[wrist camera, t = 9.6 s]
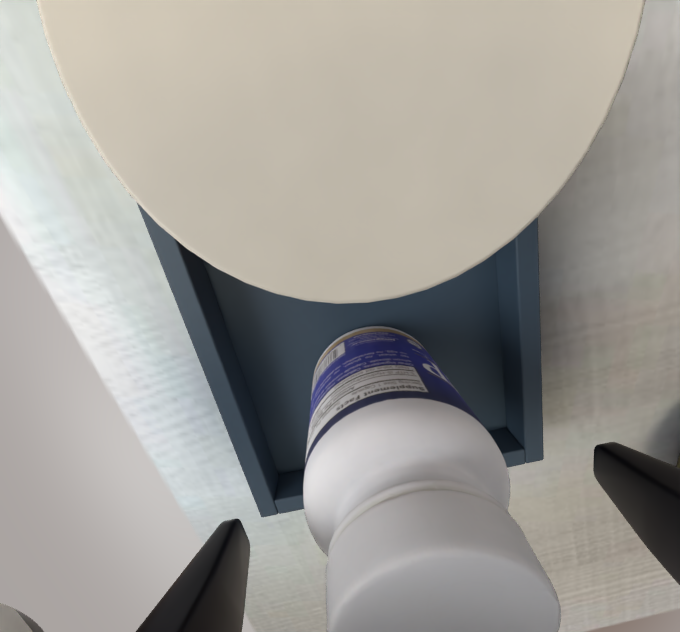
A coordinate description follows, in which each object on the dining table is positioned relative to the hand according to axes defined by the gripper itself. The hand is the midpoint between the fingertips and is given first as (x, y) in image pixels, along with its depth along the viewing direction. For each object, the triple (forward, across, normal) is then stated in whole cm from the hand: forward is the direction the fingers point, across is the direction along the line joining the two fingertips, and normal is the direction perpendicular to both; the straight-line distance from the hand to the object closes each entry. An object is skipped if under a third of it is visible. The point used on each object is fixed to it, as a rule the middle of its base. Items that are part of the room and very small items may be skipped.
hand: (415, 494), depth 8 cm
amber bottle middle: (+6, 0, -8) cm, 10 cm away
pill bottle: (+6, 0, 0) cm, 6 cm away
